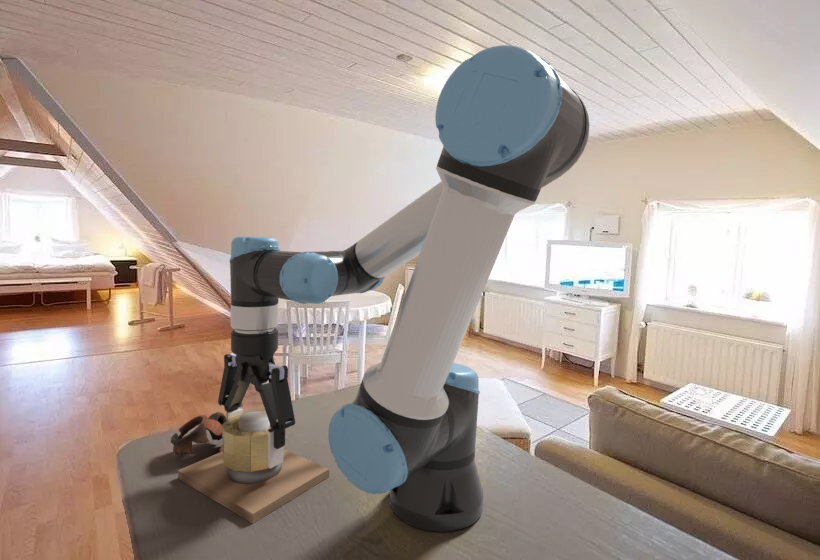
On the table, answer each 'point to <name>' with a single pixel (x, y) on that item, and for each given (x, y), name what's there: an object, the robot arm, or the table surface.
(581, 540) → the table surface
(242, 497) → the stand
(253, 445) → the brass ring
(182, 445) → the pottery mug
